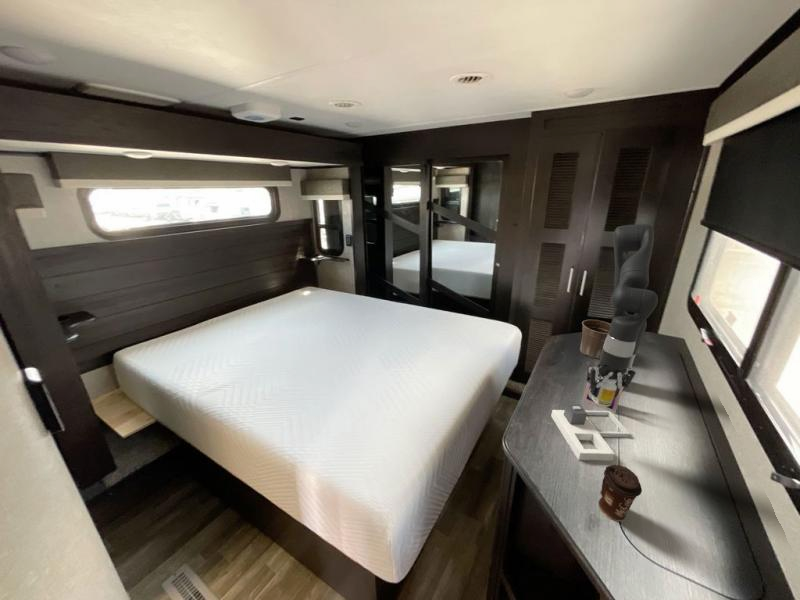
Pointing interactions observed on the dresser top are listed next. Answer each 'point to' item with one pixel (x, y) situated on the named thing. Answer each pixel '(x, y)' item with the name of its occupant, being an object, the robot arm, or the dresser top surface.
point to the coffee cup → (618, 491)
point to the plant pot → (593, 337)
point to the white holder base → (581, 433)
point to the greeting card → (610, 408)
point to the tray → (614, 419)
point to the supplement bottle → (606, 393)
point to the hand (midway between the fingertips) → (603, 395)
